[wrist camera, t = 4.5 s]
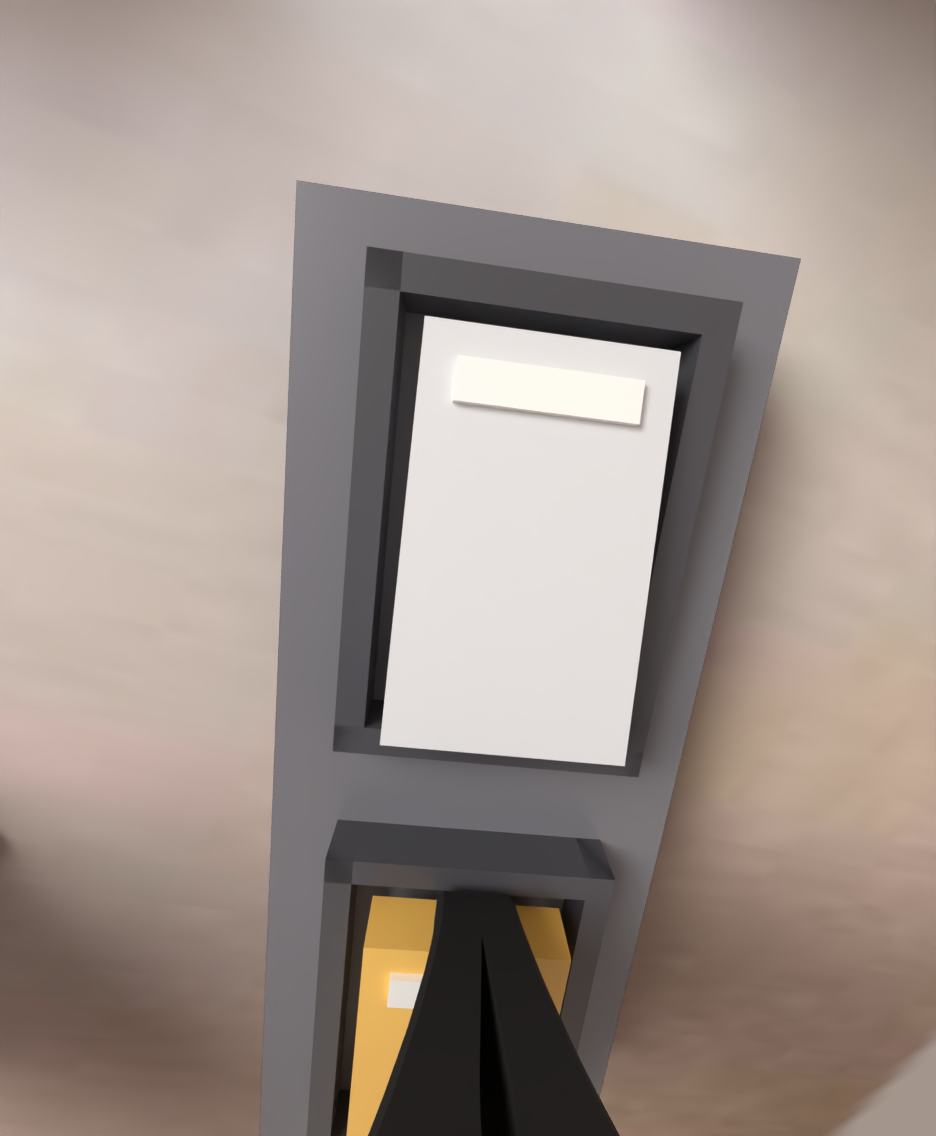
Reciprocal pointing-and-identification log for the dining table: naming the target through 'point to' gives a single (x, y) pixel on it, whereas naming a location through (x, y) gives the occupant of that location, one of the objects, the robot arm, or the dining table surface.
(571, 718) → the white rocker
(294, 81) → the dining table surface
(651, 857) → the rocker switch panel
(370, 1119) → the amber rocker
